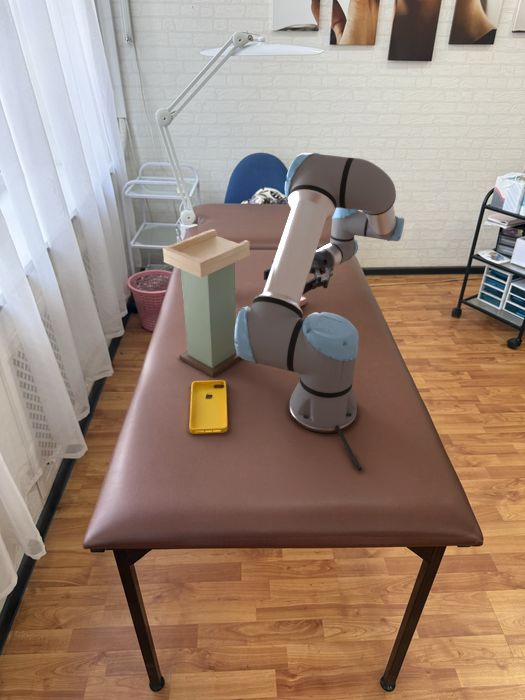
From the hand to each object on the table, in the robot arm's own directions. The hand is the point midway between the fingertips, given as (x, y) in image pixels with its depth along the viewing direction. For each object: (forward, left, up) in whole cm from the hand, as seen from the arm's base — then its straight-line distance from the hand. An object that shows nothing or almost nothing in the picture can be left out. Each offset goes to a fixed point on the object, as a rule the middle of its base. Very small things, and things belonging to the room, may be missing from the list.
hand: (282, 282), depth 146 cm
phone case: (-41, +22, -11) cm, 48 cm away
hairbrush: (-1, +1, -11) cm, 11 cm away
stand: (-21, +21, -11) cm, 31 cm away
